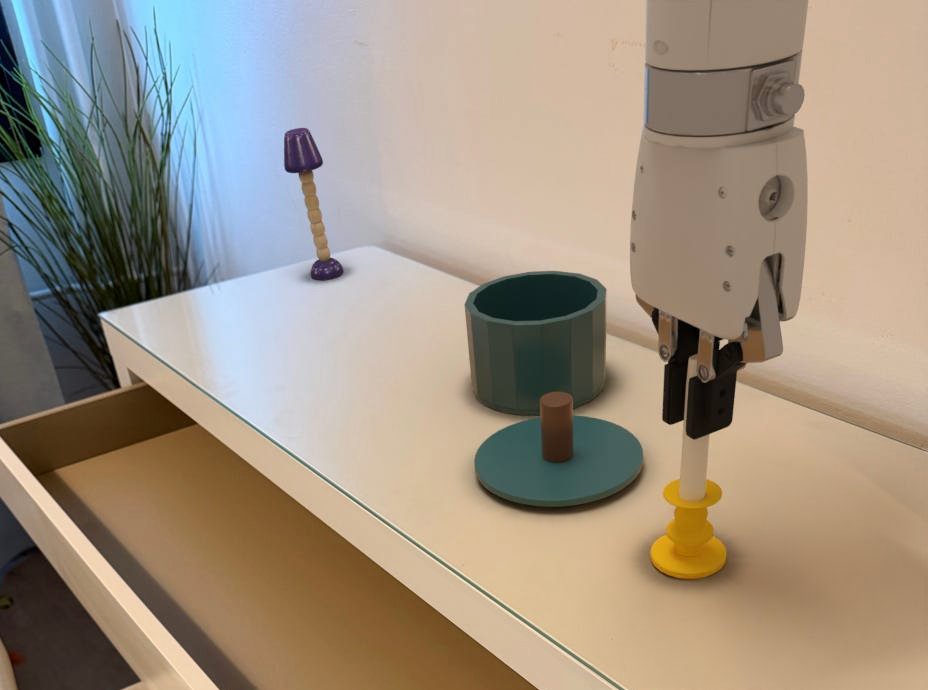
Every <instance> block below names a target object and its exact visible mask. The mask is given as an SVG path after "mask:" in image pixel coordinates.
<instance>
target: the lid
mask: <svg viewBox="0 0 928 690" xmlns="http://www.w3.org/2000/svg"><path fill="white" fill-rule="evenodd" d="M473 460H474V461H473V463H474V464H473V465H474V473H475V475H476V478H477V480H478V481H479V483H480V484H481V485H482V486H483V487H484V488H485V489H486V490H488V491H489V492H490V493H492V494H494V495H495V496H498V497H499V498H502V499H505V500H507V501H510V502H513V503H517V504H521V505H526V506H534V507H547V508H548V507H549V508H551V507H554V508H555V507H556V508H557V507H571V506H577V505H584V504H587V503H591V502H596V501H599V500H602V499H605V498H607V497H610V496H612V495H614V494H616V493H618V492H620V491H621V490H623V489H625V488H626V487H627V486H629V485H630V484H631V483H633V481H634V480H636V478H637V477H638V476H639V474H640V472H641V470H642V467H643V465H644V464H643V463H644V450H643V447H642V443H641V442H640V441H639V439H638V438H637V437H636V436H635V435H634V434H633V433H632V432H631V431H629V430H628V429H627V428H625V427H623V426H621V425H619V424H616V423H615V422H611V421H609V420H606V419H601V418H597V417H592V416H585V415H583V416H582V415H574V408H573V397H572V396H571V395H570V394H568V393H566V392H550V393H547V394H545V395H543V396H542V397H541V398H540V415H539V417H534V418H530V419H526V420H522V421H518V422H516V423H515V422H514V423H512V424H510V425H508V426H505V427H503V428H501V429H499V430H497V431H496V432H494V433H493V434H491V435H490V436H489V437H487V438H486V439H485V440H484V441H483V442H482V443H481V444H480V446H479V447H478V449H477V450H476V453H475V455H474V459H473Z"/></svg>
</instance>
